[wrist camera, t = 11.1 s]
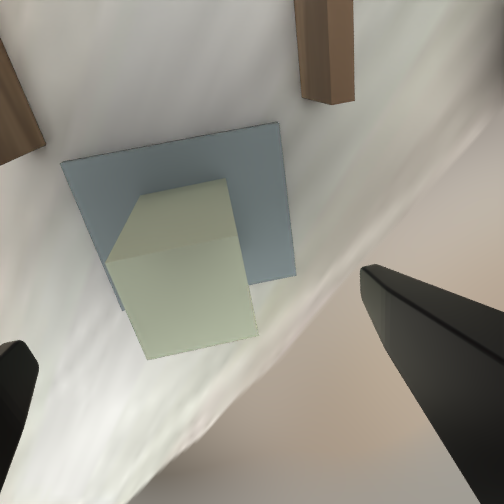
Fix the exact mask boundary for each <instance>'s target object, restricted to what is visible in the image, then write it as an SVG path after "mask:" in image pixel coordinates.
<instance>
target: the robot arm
mask: <svg viewBox="0 0 504 504" xmlns="http://www.w3.org/2000/svg"><path fill="white" fill-rule="evenodd" d="M360 291H361V297H362V301H363V303H364V305H365V307H366V310H367V311H368V314H369V316H370V318H371V320H372V322H373V324H374V327H375V329H376V331H377V333H378V335H379V338H380V339H381V342H382V344H383V346H384V348H385V350H386V351H387V353H388V355H389V356H390V358H391V360H392V361H393V363H394V364H395V366H396V368H397V369H398V371H399V373H400V374H401V376H402V378H403V379H404V381H405V382H406V384H407V386H408V387H409V389H410V390H411V392H412V394H413V395H414V397H415V399H416V400H417V402H418V403H419V405H420V406H421V408H422V410H423V411H424V413H425V415H426V416H427V418H428V420H429V421H430V423H431V424H432V426H433V428H434V429H435V431H436V432H437V434H438V436H439V437H440V439H441V440H442V442H443V444H444V445H445V447H446V449H447V450H448V452H449V453H450V455H451V457H452V458H453V460H454V461H455V463H456V465H457V466H458V468H459V470H460V471H461V473H462V474H463V476H464V478H465V479H466V481H467V483H468V484H469V486H470V488H471V489H472V491H473V492H474V494H475V496H476V497H477V499H478V500H479V502H480V504H504V312H502V311H499V310H497V309H494V308H491V307H489V306H486V305H483V304H481V303H478V302H475V301H473V300H470V299H467V298H465V297H462V296H460V295H457V294H454V293H452V292H449V291H446V290H444V289H441V288H438V287H436V286H433V285H430V284H428V283H425V282H422V281H420V280H417V279H414V278H412V277H409V276H407V275H404V274H401V273H399V272H396V271H394V270H391V269H388V268H386V267H383V266H380V265H377V264H373V265H369V266H364V267H362V268H361V270H360ZM38 372H39V365H38V362H37V360H36V359H35V357H34V356H33V354H32V352H31V351H30V349H29V348H28V346H27V345H26V343H25V342H23V341H21V340H17V341H12V342H7V343H4V344H2V345H0V493H1V490H2V487H3V484H4V482H5V479H6V476H7V473H8V471H9V468H10V465H11V463H12V460H13V457H14V454H15V452H16V449H17V446H18V443H19V441H20V438H21V435H22V432H23V429H24V426H25V422H26V419H27V415H28V411H29V407H30V404H31V400H32V396H33V392H34V388H35V384H36V380H37V376H38Z"/></svg>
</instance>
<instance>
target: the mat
mask: <svg viewBox="0 0 504 504" xmlns="http://www.w3.org/2000/svg"><path fill="white" fill-rule="evenodd" d="M60 165H61V167H62V170H63V172H64V174H65V177H66V179H67V182H68V184H69V186H70V189H71V191H72V193H73V196H74V198H75V200H76V203H77V205H78V208H79V210H80V212H81V215H82V217H83V219H84V222H85V224H86V226H87V229H88V231H89V234H90V236H91V238H92V241H93V243H94V245H95V248H96V250H97V252H98V255H99V257H100V260H101V262H102V264H103V267H104V269H105V271H106V274H107V276H108V278H109V281H110V283H111V286H112V288H113V290H114V293H115V295H116V297H117V300H118V302H119V304H120V307H121V309H122V311H124V310H125V308H124V306H123V304H122V301H121V299H120V297H119V294H118V292H117V290H116V287H115V285H114V283H113V281H112V278H111V276H110V274H109V271H108V269H107V267H106V265H105V262H106V260H107V258H108V256H109V254H110V252H111V251H112V249H113V247H114V245H115V243H116V241H117V239H118V237H119V235H120V233H121V231H122V229H123V227H124V226H125V224H126V222H127V220H128V218H129V216H130V214H131V212H132V210H133V208H134V206H135V204H136V202H137V201H138V199H139V197H140V195H145V194H150V193H155V192H160V191H165V190H169V189H174V188H179V187H184V186H189V185H194V184H199V183H204V182H208V181H213V180H218V179H223V178H226V182H227V187H228V192H229V196H230V201H231V206H232V211H233V215H234V220H235V225H236V229H237V234H238V239H239V244H240V248H241V253H242V258H243V262H244V267H245V272H246V277H247V282H248V285H252V284H257V283H262V282H267V281H272V280H277V279H282V278H287V277H291V276H296V267H295V258H294V250H293V241H292V232H291V223H290V215H289V206H288V197H287V188H286V180H285V171H284V162H283V153H282V144H281V136H280V127H279V123H278V122H273V123H268V124H262V125H257V126H252V127H246V128H241V129H236V130H230V131H225V132H219V133H214V134H209V135H203V136H198V137H193V138H187V139H182V140H177V141H171V142H166V143H160V144H155V145H150V146H144V147H139V148H134V149H128V150H123V151H118V152H112V153H107V154H101V155H96V156H91V157H85V158H80V159H75V160H69V161H64V162H62V163H60Z"/></svg>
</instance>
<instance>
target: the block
mask: <svg viewBox="0 0 504 504" xmlns="http://www.w3.org/2000/svg"><path fill="white" fill-rule="evenodd" d="M105 265H106V267H107V269H108V271H109V274H110V276H111V278H112V281H113V283H114V285H115V287H116V290H117V292H118V294H119V297H120V299H121V301H122V304H123V306H124V308H125V310H126V313H127V315H128V317H129V320H130V322H131V324H132V327H133V329H134V331H135V333H136V336H137V338H138V340H139V343H140V345H141V347H142V350H143V352H144V354H145V356H146V359H147V360H151V359H156V358H160V357H165V356H169V355H174V354H178V353H183V352H188V351H192V350H197V349H201V348H206V347H210V346H215V345H219V344H224V343H229V342H233V341H238V340H242V339H247V338H251V337H256V336H259V334H258V329H257V324H256V320H255V315H254V310H253V305H252V301H251V296H250V291H249V286H248V282H247V277H246V272H245V267H244V262H243V258H242V253H241V248H240V244H239V239H238V234H237V229H236V225H235V220H234V215H233V211H232V206H231V201H230V196H229V192H228V187H227V182H226V178H223V179H218V180H213V181H208V182H204V183H199V184H194V185H189V186H184V187H179V188H174V189H169V190H165V191H160V192H155V193H150V194H145V195H140V197H139V199H138V201H137V202H136V204H135V206H134V208H133V210H132V212H131V214H130V216H129V218H128V220H127V222H126V224H125V226H124V227H123V229H122V231H121V233H120V235H119V237H118V239H117V241H116V243H115V245H114V247H113V249H112V251H111V252H110V254H109V256H108V258H107V260H106V262H105Z"/></svg>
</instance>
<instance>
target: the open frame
mask: <svg viewBox="0 0 504 504" xmlns="http://www.w3.org/2000/svg"><path fill="white" fill-rule="evenodd" d="M294 8H295V20H296V32H297V44H298V57H299V69H300V81H301V94H302V98H305V99H309V100H313V101H317V102H321V103H325V104H329V105H335V104H340V103H346V102H351V101H355V91H354V24H353V0H294ZM45 145H46V143H45V141H44V139H43V136H42V134H41V132H40V129H39V127H38V125H37V122H36V120H35V118H34V115H33V113H32V111H31V108H30V106H29V104H28V101H27V99H26V97H25V94H24V92H23V90H22V87H21V85H20V83H19V80H18V78H17V76H16V74H15V71H14V69H13V67H12V64H11V62H10V60H9V57H8V55H7V53H6V50H5V48H4V46H3V43H2V41H1V39H0V166H1V165H3V164H5V163H7V162H9V161H12V160H14V159H16V158H18V157H20V156H23V155H25V154H27V153H29V152H31V151H34V150H36V149H38V148H40V147H42V146H45Z"/></svg>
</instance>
